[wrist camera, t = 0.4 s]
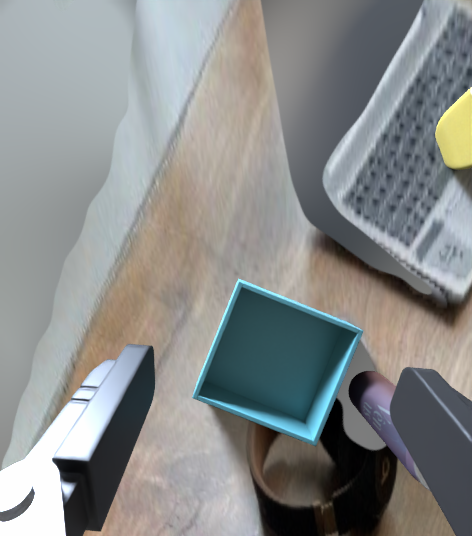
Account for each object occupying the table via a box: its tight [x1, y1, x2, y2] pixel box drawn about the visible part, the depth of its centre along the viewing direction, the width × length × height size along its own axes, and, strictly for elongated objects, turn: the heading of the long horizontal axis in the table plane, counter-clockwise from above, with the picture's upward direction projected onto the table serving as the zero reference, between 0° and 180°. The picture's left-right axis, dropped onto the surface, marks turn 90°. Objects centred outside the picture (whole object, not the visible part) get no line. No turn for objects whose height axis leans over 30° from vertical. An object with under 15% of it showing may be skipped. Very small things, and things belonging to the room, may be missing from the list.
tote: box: [192, 279, 363, 446], centre depth 37 cm, size 17×16×5 cm
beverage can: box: [349, 371, 431, 491], centre depth 32 cm, size 6×6×15 cm
